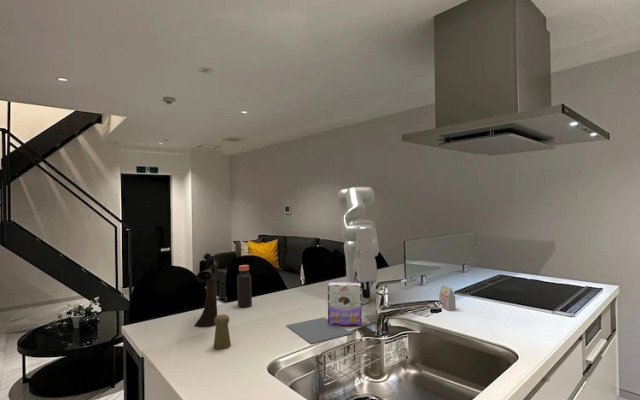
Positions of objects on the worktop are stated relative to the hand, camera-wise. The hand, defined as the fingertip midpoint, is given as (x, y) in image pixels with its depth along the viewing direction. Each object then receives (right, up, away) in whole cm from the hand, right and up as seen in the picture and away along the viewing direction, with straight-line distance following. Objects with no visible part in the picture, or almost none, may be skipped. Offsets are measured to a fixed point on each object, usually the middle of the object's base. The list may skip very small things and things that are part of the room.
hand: (366, 297), depth 151 cm
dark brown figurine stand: (-68, -11, -2) cm, 69 cm away
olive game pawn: (-55, -11, -25) cm, 61 cm away
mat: (-21, -10, -12) cm, 26 cm away
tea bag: (+39, -9, +12) cm, 42 cm away
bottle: (-57, -11, +24) cm, 63 cm away
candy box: (-10, -9, -6) cm, 15 cm away
